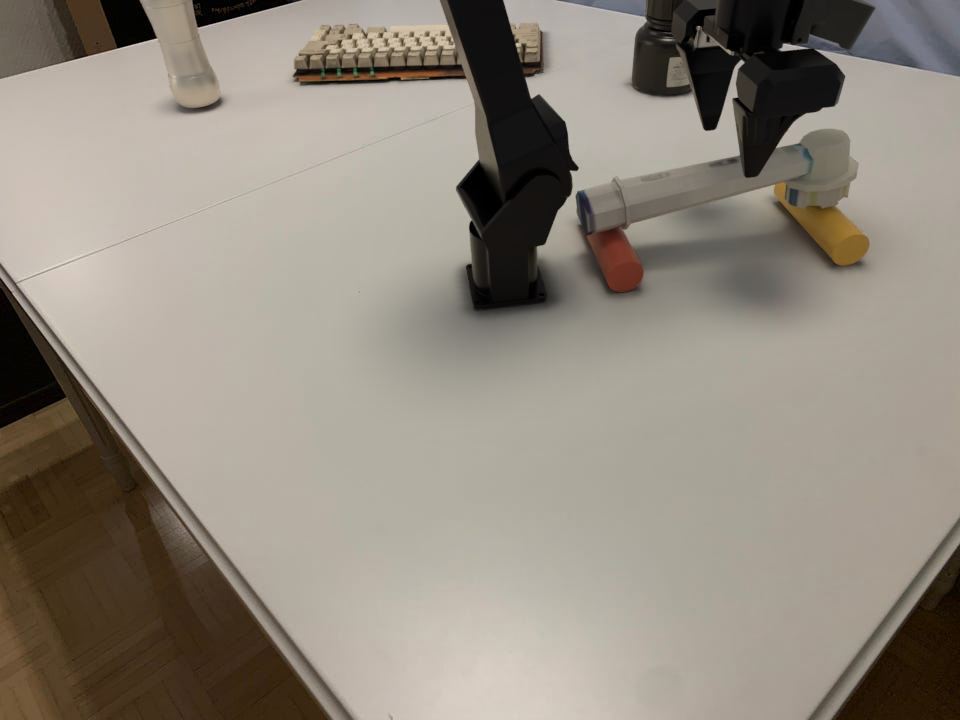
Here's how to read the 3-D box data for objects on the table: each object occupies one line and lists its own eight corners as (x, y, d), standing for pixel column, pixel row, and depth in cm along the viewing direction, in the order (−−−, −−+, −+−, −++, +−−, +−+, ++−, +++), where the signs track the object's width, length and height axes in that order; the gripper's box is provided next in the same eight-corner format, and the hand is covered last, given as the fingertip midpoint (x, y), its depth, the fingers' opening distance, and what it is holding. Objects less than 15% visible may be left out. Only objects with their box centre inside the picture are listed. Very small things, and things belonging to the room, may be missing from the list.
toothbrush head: (571, 177, 63) (845, 105, 63) (578, 240, 67) (834, 172, 67) (588, 206, 59) (879, 129, 59) (594, 271, 63) (866, 199, 63)
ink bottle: (683, 101, 91) (697, 1, 83) (619, 91, 95) (626, -6, 87) (707, 76, 97) (722, -20, 89) (646, 67, 101) (655, -26, 93)
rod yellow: (863, 263, 63) (874, 232, 61) (828, 267, 63) (838, 236, 60) (801, 198, 72) (809, 169, 70) (770, 201, 72) (777, 172, 69)
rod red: (642, 289, 62) (645, 259, 60) (606, 294, 62) (608, 263, 59) (607, 220, 71) (609, 191, 69) (575, 224, 71) (576, 194, 68)
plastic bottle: (198, 117, 97) (143, -48, 84) (167, 108, 100) (109, -52, 87) (234, 100, 101) (187, -60, 88) (203, 92, 104) (153, -64, 91)
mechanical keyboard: (542, 33, 115) (542, 10, 113) (544, 76, 101) (544, 52, 99) (315, 44, 118) (311, 22, 116) (286, 88, 104) (280, 64, 102)
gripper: (957, -35, 44) (878, 193, 54) (814, -89, 58) (773, 100, 68) (782, -17, 43) (736, 210, 54) (680, -76, 57) (660, 113, 68)
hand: (729, 151), depth 61 cm, fingers open, 9 cm apart
